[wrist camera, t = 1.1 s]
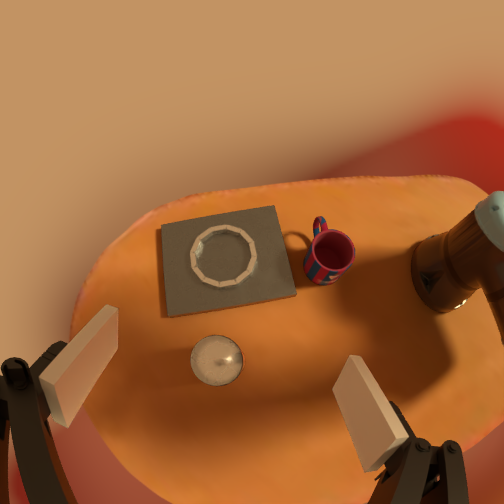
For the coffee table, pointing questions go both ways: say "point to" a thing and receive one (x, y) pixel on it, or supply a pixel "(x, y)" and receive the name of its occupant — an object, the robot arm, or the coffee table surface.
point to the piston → (217, 360)
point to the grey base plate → (225, 262)
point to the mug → (328, 254)
